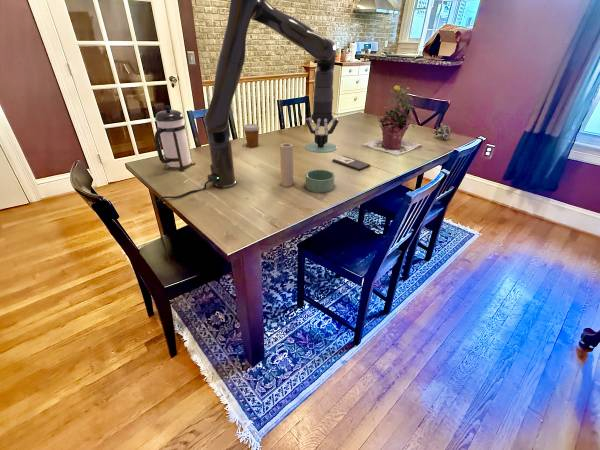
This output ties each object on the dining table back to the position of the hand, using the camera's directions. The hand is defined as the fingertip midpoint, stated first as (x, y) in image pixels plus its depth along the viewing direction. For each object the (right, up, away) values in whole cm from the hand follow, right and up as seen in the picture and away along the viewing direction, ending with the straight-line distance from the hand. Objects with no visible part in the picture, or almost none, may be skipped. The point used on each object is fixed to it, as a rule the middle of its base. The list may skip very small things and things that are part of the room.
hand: (320, 143), depth 127 cm
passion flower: (+84, +23, +74) cm, 115 cm away
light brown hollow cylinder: (-14, -15, +13) cm, 24 cm away
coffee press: (-71, -5, +30) cm, 77 cm away
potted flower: (+48, +15, +61) cm, 79 cm away
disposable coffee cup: (-38, +15, +60) cm, 73 cm away
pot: (0, -17, +11) cm, 20 cm away
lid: (0, -2, +1) cm, 2 cm away
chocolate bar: (+18, -2, +34) cm, 39 cm away
